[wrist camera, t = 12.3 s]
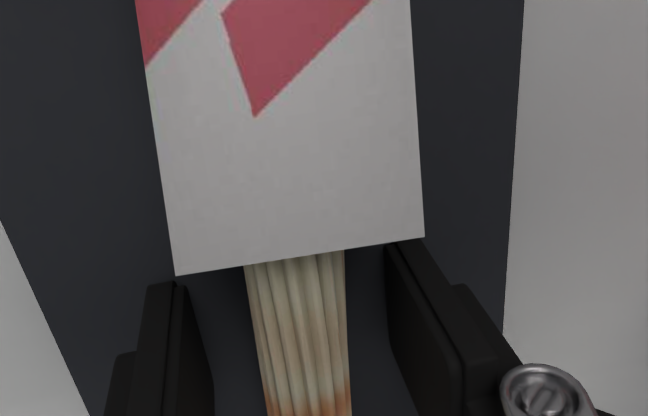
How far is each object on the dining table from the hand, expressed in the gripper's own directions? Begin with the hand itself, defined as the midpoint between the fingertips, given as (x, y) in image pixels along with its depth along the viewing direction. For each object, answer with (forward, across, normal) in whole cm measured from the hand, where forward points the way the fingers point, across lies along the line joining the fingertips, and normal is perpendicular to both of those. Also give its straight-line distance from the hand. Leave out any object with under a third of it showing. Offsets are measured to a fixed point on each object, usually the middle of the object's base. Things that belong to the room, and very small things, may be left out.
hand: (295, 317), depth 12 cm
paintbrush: (0, 0, -3) cm, 3 cm away
